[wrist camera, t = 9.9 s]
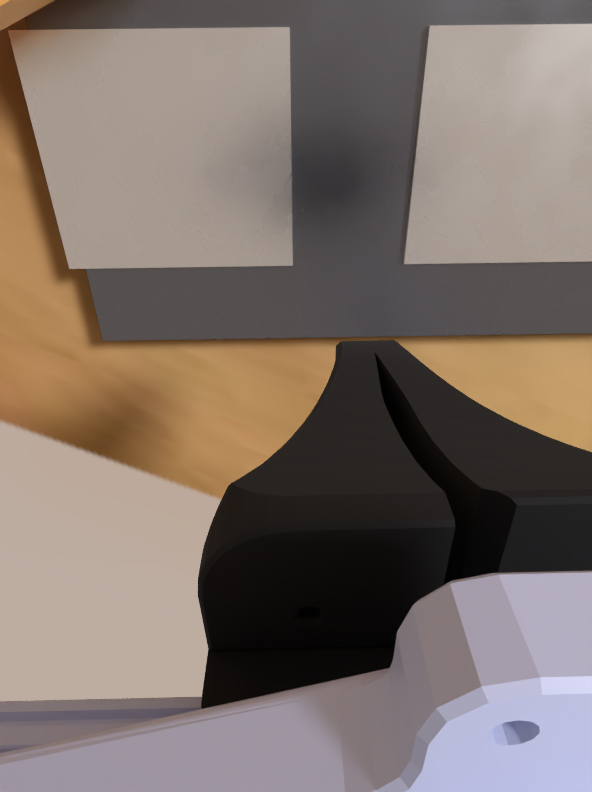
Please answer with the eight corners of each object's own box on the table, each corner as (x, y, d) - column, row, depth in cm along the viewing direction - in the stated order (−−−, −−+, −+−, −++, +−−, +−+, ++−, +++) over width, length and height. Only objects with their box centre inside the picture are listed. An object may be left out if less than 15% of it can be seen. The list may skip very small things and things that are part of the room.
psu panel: (689, 318, 22) (729, 344, 20) (99, 327, 21) (80, 354, 20) (887, -125, 14) (980, -152, 12) (-8, -118, 14) (-55, -144, 12)
